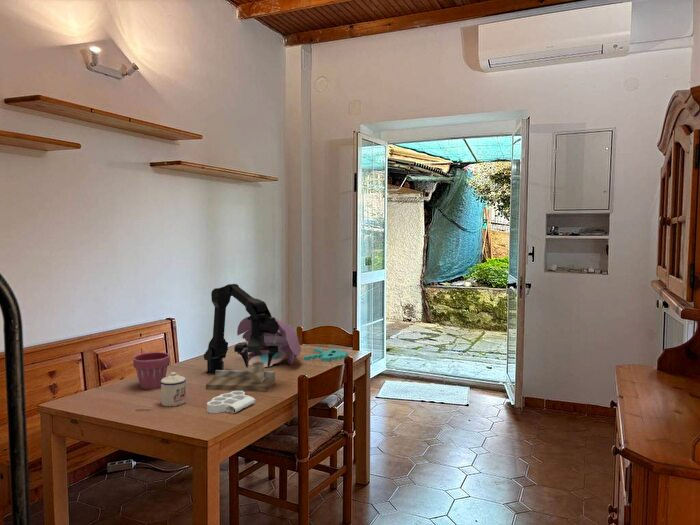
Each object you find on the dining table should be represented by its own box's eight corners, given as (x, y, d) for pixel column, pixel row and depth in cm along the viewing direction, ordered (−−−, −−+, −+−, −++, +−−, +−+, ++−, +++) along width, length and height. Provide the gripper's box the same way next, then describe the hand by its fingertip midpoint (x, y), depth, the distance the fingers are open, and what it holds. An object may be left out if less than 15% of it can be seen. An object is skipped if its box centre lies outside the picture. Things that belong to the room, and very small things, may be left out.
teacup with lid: (176, 408, 181) (176, 376, 180) (155, 405, 184) (155, 374, 183) (195, 397, 193) (195, 368, 192) (175, 395, 195) (174, 366, 194)
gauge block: (250, 381, 207) (250, 365, 207) (254, 377, 213) (254, 361, 213) (260, 381, 207) (260, 365, 206) (263, 377, 213) (263, 361, 212)
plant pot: (151, 393, 198) (150, 361, 197) (126, 388, 204) (125, 358, 203) (177, 383, 211) (177, 354, 210) (153, 379, 217) (152, 350, 216)
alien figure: (304, 360, 252) (342, 363, 248) (304, 356, 252) (342, 358, 248) (314, 351, 271) (350, 353, 267) (314, 347, 271) (350, 349, 267)
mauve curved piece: (231, 374, 243) (219, 320, 237) (252, 354, 265) (242, 304, 259) (296, 373, 232) (286, 317, 226) (313, 352, 254) (304, 300, 248)
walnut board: (205, 389, 203) (205, 378, 203) (216, 380, 216) (216, 370, 216) (268, 391, 201) (268, 380, 201) (275, 381, 214) (275, 371, 214)
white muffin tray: (229, 418, 173) (197, 411, 179) (260, 402, 189) (229, 397, 195) (229, 408, 172) (197, 402, 179) (260, 394, 189) (229, 388, 195)
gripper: (230, 334, 201) (230, 372, 202) (275, 335, 200) (275, 373, 201) (238, 329, 212) (238, 365, 213) (280, 330, 211) (281, 366, 212)
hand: (257, 367), depth 209 cm, fingers open, 9 cm apart
